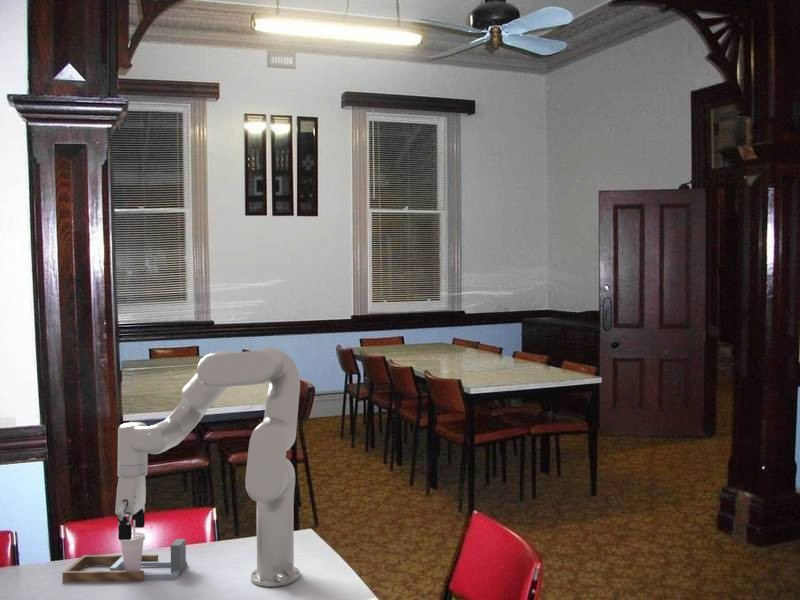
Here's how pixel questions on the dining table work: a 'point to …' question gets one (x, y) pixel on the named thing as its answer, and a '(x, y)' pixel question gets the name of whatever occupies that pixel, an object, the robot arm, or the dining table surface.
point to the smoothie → (132, 551)
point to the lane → (103, 576)
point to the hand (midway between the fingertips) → (131, 533)
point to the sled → (163, 562)
